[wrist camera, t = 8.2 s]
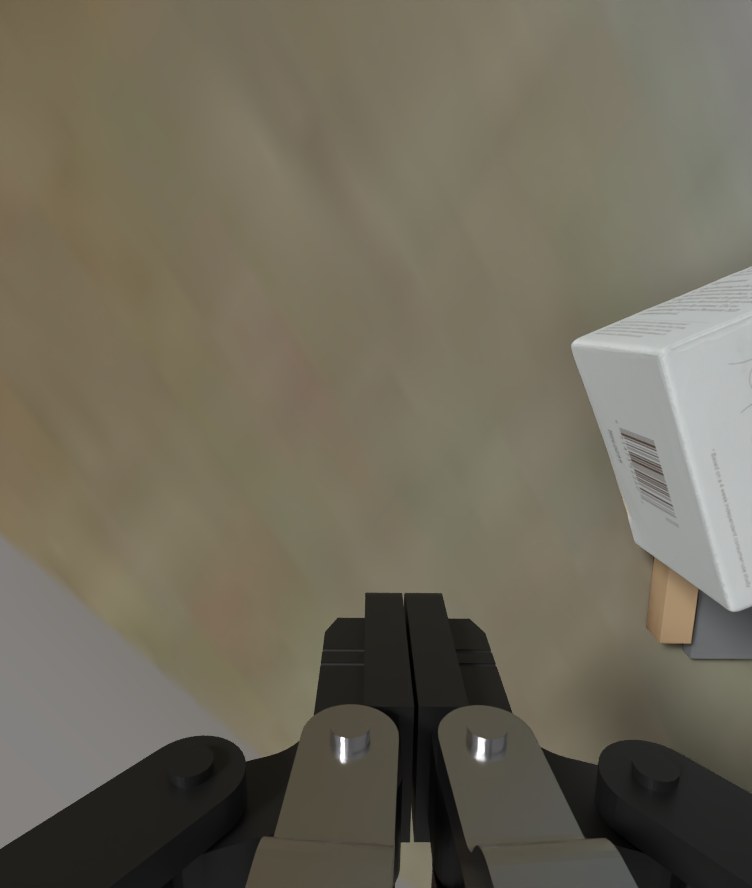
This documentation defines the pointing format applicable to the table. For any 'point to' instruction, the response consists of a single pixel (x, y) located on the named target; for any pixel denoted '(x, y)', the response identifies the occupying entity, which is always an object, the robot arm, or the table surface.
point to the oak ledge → (671, 606)
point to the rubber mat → (719, 631)
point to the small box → (682, 430)
